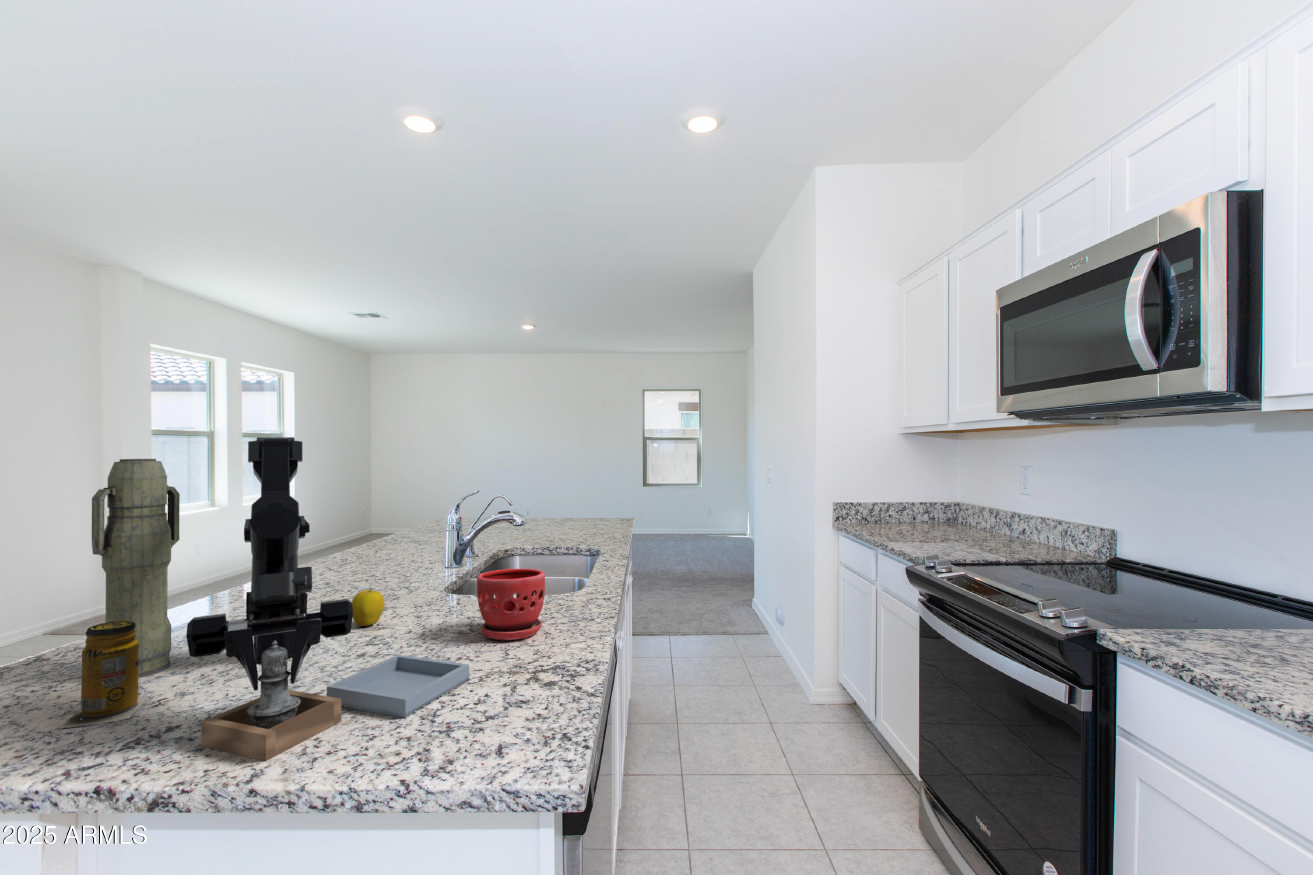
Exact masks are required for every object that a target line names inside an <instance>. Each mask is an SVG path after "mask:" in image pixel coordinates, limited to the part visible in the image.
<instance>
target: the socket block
mask: <svg viewBox="0 0 1313 875" xmlns="http://www.w3.org/2000/svg"><path fill="white" fill-rule="evenodd" d="M288 691H289V694H290V696H294V697H298V698H299V699H300V700H301V702H300V704H299V705H298V710H297V712H296V715H295V716H294V717H293V718H291V719H289V720H286V721H284V722H282V723H280V724H278V725H276V726H274V727H272V728H270V729H264V728H259V727H256V726H254V725H253V723H252V721H251V719H250V715H249V714H248V713H247V710H248V708H249V707H250V706H252V705H253V704H255V703H257V702H259V699H260V697H257V698H256V699H252V700H250V701H248V702H245V703H243V704H241V705H239V706H238V705H237V706H235V707H234V708H231V709H229V710H226V711H223V712H221V713H220V714H216V715H214V716H211V717H210V718H207V719H205V720H202V721H201V722H200V723H201V724H200V725H201V729H200V730H201V734H200V736H201V737H200V738H201V740H200V741H201V744H200V745H201V747H204V748H209V749H213V750H218V751H222V752H225V753H230V754H234V755H239V756H243V757H247V758H248V757H249V758H251V759H256V760H260V761H264V762H266V761H269V760H270V759H273V758H274V757H276V756H277V755H280V754H283V753H284V752H286V751H287V750H289V749H292V748H293V747H295V746H297V745H299V744H301V743H303V742H305V741H306V740H308V739H310V738H312V737H313V736H316V735H317V734H320V733H322V732H324V731H325V730H327V729H330V728H331V727H333V726H335V725H337V724H339V723H341V722H342V707H341V699H340V698H334V697H328V696H327V695H320V694H315V693H311V692H310V693H309V692H303V691H300V690H299V691H298V690H292V689H288ZM340 721H341V722H340Z"/></svg>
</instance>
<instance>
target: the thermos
mask: <svg viewBox="0 0 1313 875" xmlns="http://www.w3.org/2000/svg"><path fill="white" fill-rule="evenodd" d="M180 495H181V494H180V492H179V491H178V490H177V489H176V488H175V487H174V486H169V485H168V474H167V472H166V470H165V468H164V466H163V462H162V461H160V460H157V459H156V458H124V459H123V458H119V461H114V462H113V465H112V467H111V469H110V471H109V473H108V476H107V487H103V488H102V489H101V488H99V489H98V490H97V491H96V493H95V494H94V495H93V496H92V497H91V549H92V555H95V556H97V555H99V557H101V568H102V570H103V571H104V573H105V619H104V620H105V621H104V623H106V622H112V621H123V620H125V621H127V620H128V621H133V622H135V625H136V626H135V631H136V636H135V638H136V639H137V640H138V642H139V657H138V658H139V659H138V664H139V667H138V670H139V672H138V673H139V674H138V676H139V677H138V678H144V677H146V676H150V675H153V674H157V673H160V672H162V671H164V670H166V669H168V668H169V667H170V665H171V660H170V654H171V651H172V623H171V622H170V620H169V617H168V576H169V575H168V568H169V565H170V563H171V561H172V549H173V546H175V545H176V544H177V543H178V541H180V504H181V503H180V501H181V500H180ZM106 497H107V498H106ZM105 499H107V504H106V505H107V508H108V515H107V517H106V518H107V520H106V521H107V522H106V525H105ZM166 505H167V512H166Z"/></svg>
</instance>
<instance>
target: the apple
mask: <svg viewBox="0 0 1313 875" xmlns="http://www.w3.org/2000/svg"><path fill="white" fill-rule="evenodd" d="M351 602H352V606H353V618H352V621H353V622H354V623H355V624H356V625H357V626H358V627H365V626H366V627H367V626H370V625H374V624H377V623H378V622H379V621H380V619H381V616H382V614H383V612H384V610H385V609H384V608H385V605H386V603H385V598H384V595H383V594H382V593H381V592H380V591H377V590H372V587H370V588H369V589H368V590H367V589H366V590H361V591H358V592H357V593H356V594H355V595H354V596H353V598H352V601H351Z"/></svg>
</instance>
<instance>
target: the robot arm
mask: <svg viewBox="0 0 1313 875" xmlns="http://www.w3.org/2000/svg"><path fill="white" fill-rule="evenodd" d="M295 438H296V437H295V436H294V437H290V436H289V437H288V436H287V437H286V436H284V437H279V436H277V437H275V436H273V437H271V436H267V437H266V436H263V437H262V436H257V437H256V440H250V441H248V442H247V462H248V464H250V463H252V469H253V471H252V472H253V474H254V476H255V477H256V479H257V480H258V482H259V484H260V497H259V498H257V499H256V500H255V501H254V502H253V503H252V504H251V508H250V509H251V510H250V511H251V512H250V513H251V514H250V518H245V522H244V525H243V526H244V527H243V539H244V542H245V543H250V552H251V555H252V558H251V559H252V560H251V581H250V582H251V584H250V591H247V592H246V593H245V596H246V598H245V609H246V610H245V614H246V615H245V617H246V618H239V619H231V620H227V614H226V613H220V614H212V615H211V614H210V615H203V616H195V617H193V618H192V619H191V620H190V621H189V622H188V623H187V624H186V625H187V626H186V634H185V635H186V636H185V637H186V642H187V648H188V655H189V657H192V658H195V659H196V658H202V657H208V656H215V655H220V654H221V653H223V652H224V650H225V655H226V657H227V658H235V659H237V661H238V662H239V664H240V665H241V667H242V668H243V669H244V671H245V673H246V675H247V678H248V679H249V680H248V681H250V684H251V686H252V687H251V688H252V689H253V691H255V692H256V691H258V690H259V680H258V677H259V673H258V672H259V671H258V666H257V663H261V664H262V654H263V652H264V651H265V650H267V649H268V648H270V647H272V646H273V645H272V643H273V641H274V640H275V641H277V642H278V643H277V646H279V647H283V648H285V649H286V650H287V659H290V658H292V659H291V664H290V665H291V666H290V673H291V674H290V685H294V684H295V682H296V681H297V680H296V679H297V677H298V675H299V672H300V669H301V667H302V664H303V662H304V660H305V657H306V656H307V655H308V652H309V651H310V649H311V647H312V646H315V645H318V644H320V643H321V636H322V637H324V638H326V639H328V638H329V639H330V638H336V637H341V636H347V635H348V634H351V630H352V624H353V606H352V601H351V600H349V599H348V598H342V599H333V600H326V601H325V600H324V601H320V607H319V612H312V613H308V593H312V590H313V570H312V569H313V568H312V566H304V567H303V566H301V567H299V557H298V556H299V554H298V552H299V547H300V546H299V545H300V541H299V540H301V539H305V537H306V534H307V533H310V532H311V531H310V525H311V524H310V523H309V522H308V521H307V520H306V519H305V516H304V515H300V505H299V501H297V500H296V499H295V498H293V497H292V496H291V484H290V483H291V482H292V481H293V479H294V478H295V476H296V475H297V474H298V467H299V463H302V462H303V441H302V440H301V441H300V440H295Z"/></svg>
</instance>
